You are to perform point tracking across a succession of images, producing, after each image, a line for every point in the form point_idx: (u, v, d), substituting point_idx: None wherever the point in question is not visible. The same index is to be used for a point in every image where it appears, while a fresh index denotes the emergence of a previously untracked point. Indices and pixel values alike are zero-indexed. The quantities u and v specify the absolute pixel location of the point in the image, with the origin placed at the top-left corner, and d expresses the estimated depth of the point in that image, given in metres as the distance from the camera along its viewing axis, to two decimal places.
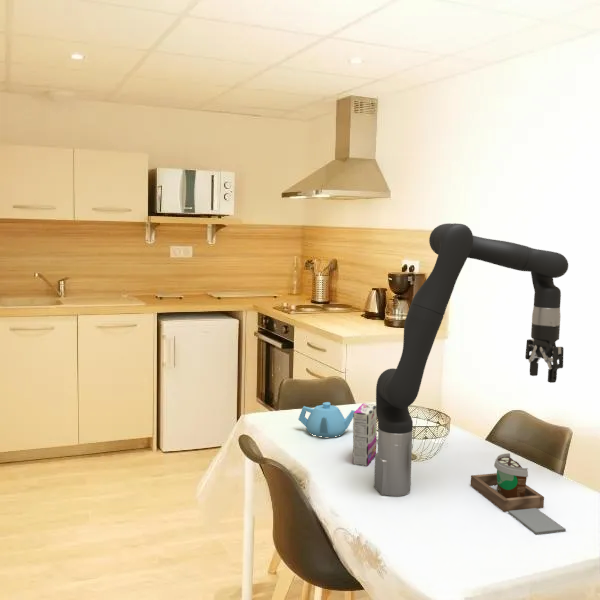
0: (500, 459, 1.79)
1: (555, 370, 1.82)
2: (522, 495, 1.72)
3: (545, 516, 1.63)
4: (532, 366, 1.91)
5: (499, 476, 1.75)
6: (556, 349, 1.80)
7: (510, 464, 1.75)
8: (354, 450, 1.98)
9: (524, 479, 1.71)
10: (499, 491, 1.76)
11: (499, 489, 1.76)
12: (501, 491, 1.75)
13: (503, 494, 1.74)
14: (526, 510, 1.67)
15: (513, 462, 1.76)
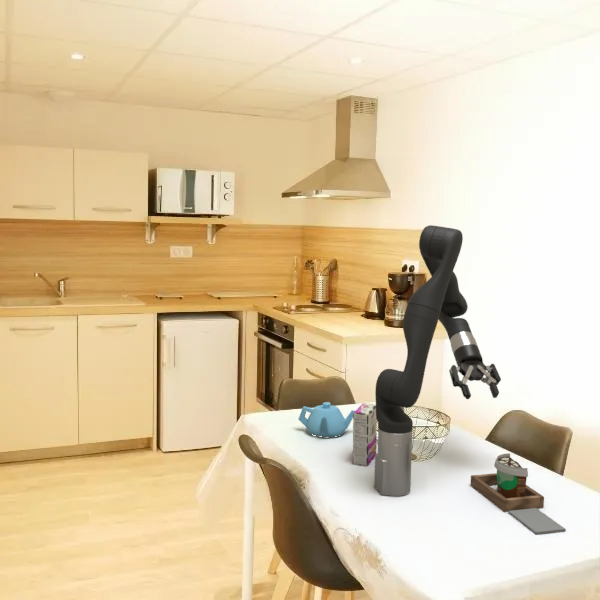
0: (500, 459, 1.79)
1: None
2: (522, 495, 1.72)
3: (545, 516, 1.63)
4: None
5: (499, 476, 1.75)
6: None
7: (510, 464, 1.75)
8: (354, 450, 1.98)
9: (524, 479, 1.71)
10: (499, 491, 1.76)
11: (499, 489, 1.76)
12: (501, 491, 1.75)
13: (503, 494, 1.74)
14: (526, 510, 1.67)
15: (513, 462, 1.76)
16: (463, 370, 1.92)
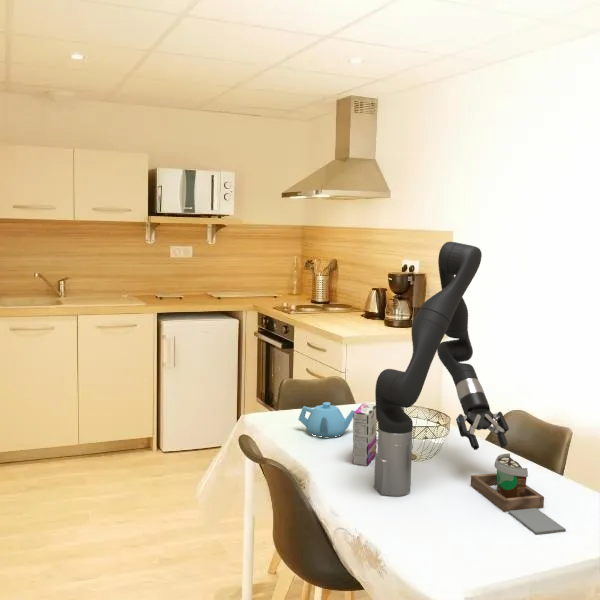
0: (500, 459, 1.79)
1: None
2: (522, 495, 1.72)
3: (545, 516, 1.63)
4: None
5: (499, 476, 1.75)
6: None
7: (510, 464, 1.75)
8: (354, 450, 1.98)
9: (524, 479, 1.71)
10: (499, 491, 1.76)
11: (499, 489, 1.76)
12: (501, 491, 1.75)
13: (503, 494, 1.74)
14: (526, 510, 1.67)
15: (513, 462, 1.76)
16: (470, 419, 1.87)
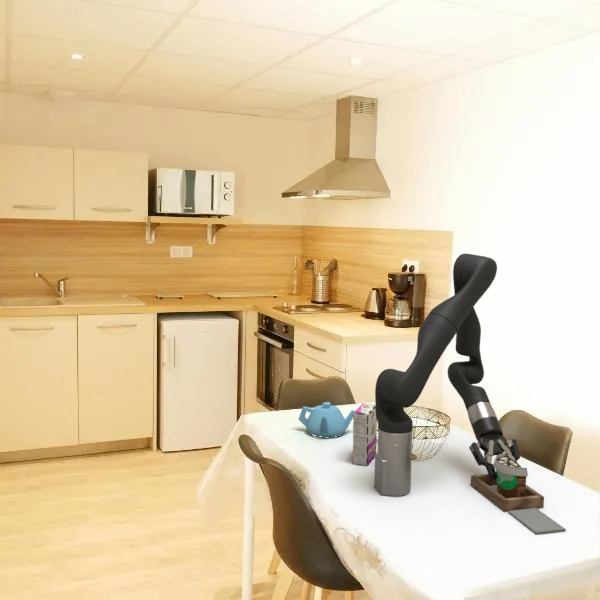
0: (499, 459, 1.79)
1: None
2: (522, 494, 1.72)
3: (545, 516, 1.63)
4: None
5: (498, 477, 1.75)
6: None
7: (509, 464, 1.75)
8: (354, 450, 1.98)
9: (524, 479, 1.71)
10: (499, 491, 1.76)
11: (499, 489, 1.76)
12: (501, 491, 1.75)
13: (503, 494, 1.74)
14: (526, 510, 1.67)
15: (512, 461, 1.76)
16: (484, 445, 1.82)
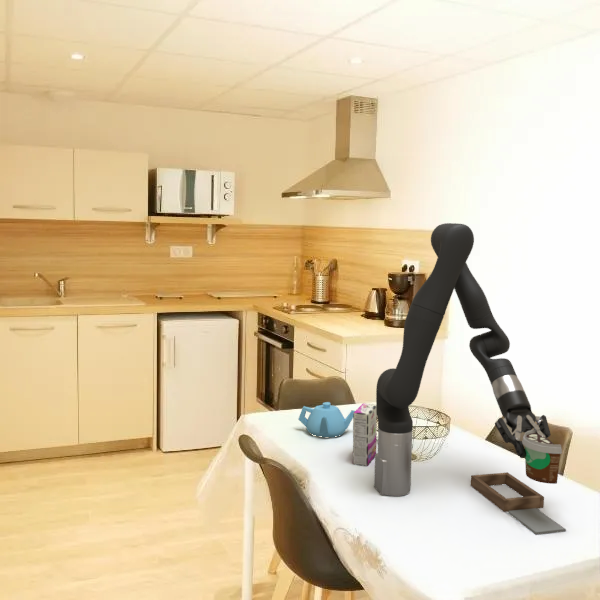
0: (528, 436, 1.63)
1: None
2: (555, 474, 1.56)
3: (545, 516, 1.63)
4: None
5: (528, 455, 1.60)
6: None
7: (540, 441, 1.59)
8: (354, 450, 1.98)
9: (557, 457, 1.55)
10: (529, 471, 1.60)
11: (529, 469, 1.60)
12: (531, 471, 1.59)
13: (534, 474, 1.59)
14: (526, 510, 1.67)
15: (543, 438, 1.61)
16: (511, 421, 1.66)
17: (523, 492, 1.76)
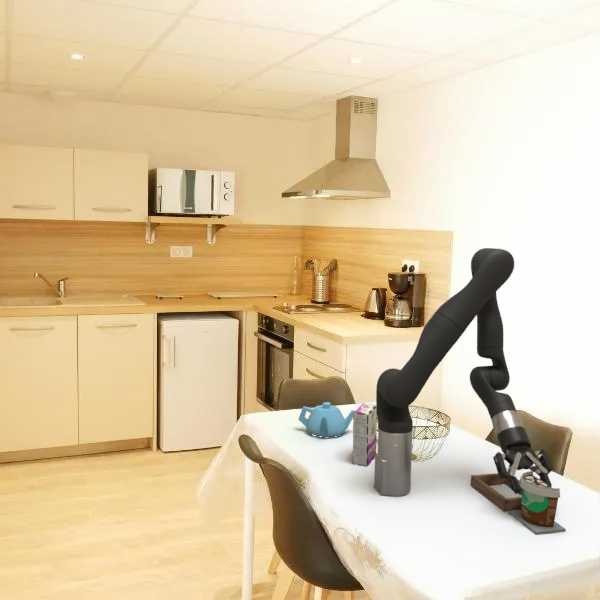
0: (524, 478, 1.63)
1: None
2: (552, 518, 1.57)
3: None
4: None
5: (525, 497, 1.60)
6: None
7: (537, 483, 1.60)
8: (354, 450, 1.98)
9: (555, 500, 1.56)
10: (525, 513, 1.60)
11: (525, 511, 1.60)
12: (528, 513, 1.59)
13: (530, 517, 1.59)
14: None
15: (540, 481, 1.61)
16: (510, 458, 1.66)
17: None
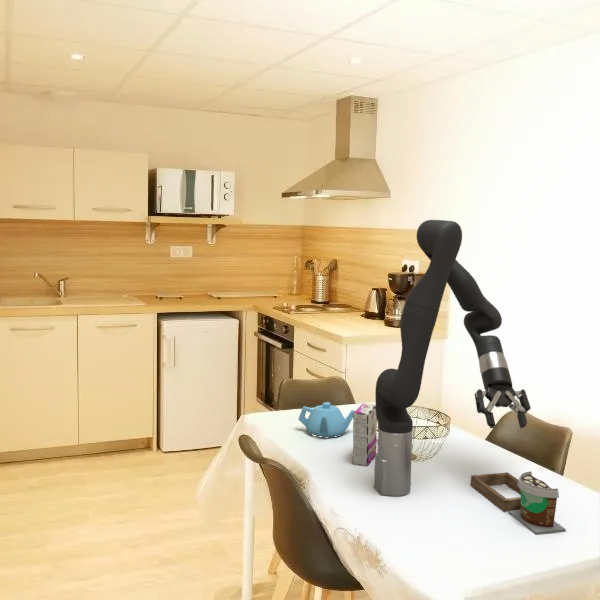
0: (523, 478, 1.63)
1: None
2: (551, 518, 1.57)
3: None
4: None
5: (524, 498, 1.60)
6: None
7: (536, 484, 1.60)
8: (354, 450, 1.98)
9: (554, 500, 1.56)
10: (525, 514, 1.60)
11: (525, 512, 1.60)
12: (527, 514, 1.59)
13: (530, 518, 1.59)
14: None
15: (538, 481, 1.61)
16: (490, 395, 1.77)
17: None
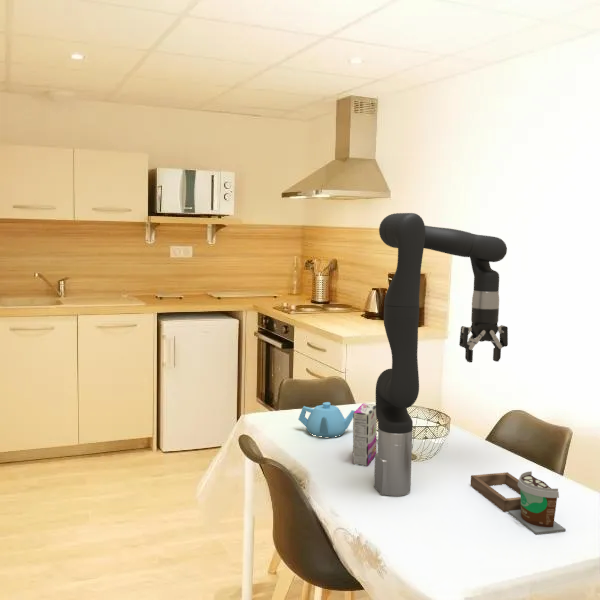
0: (523, 478, 1.63)
1: None
2: (551, 518, 1.57)
3: None
4: None
5: (524, 498, 1.60)
6: None
7: (536, 484, 1.60)
8: (354, 450, 1.98)
9: (554, 500, 1.56)
10: (525, 514, 1.60)
11: (525, 512, 1.60)
12: (527, 514, 1.59)
13: (530, 518, 1.59)
14: None
15: (538, 481, 1.61)
16: (474, 333, 1.89)
17: None
